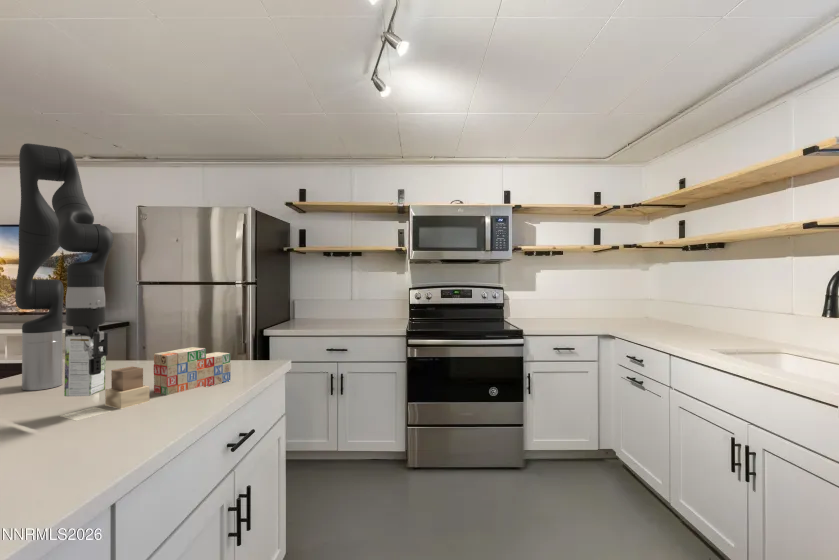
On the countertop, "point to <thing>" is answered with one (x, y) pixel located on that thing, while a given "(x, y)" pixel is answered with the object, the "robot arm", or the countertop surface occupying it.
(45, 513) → the countertop surface
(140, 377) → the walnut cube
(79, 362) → the syrup box
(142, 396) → the maple block
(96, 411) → the pale flat slab
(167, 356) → the stack of blocks
